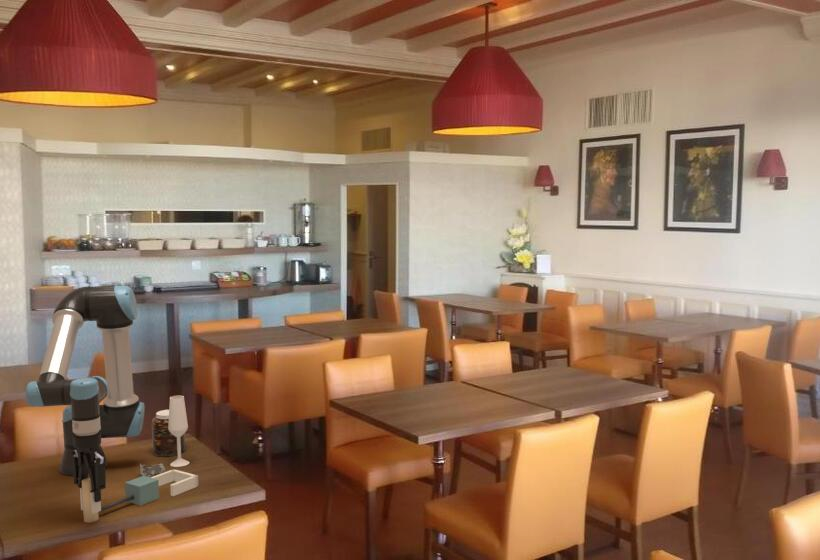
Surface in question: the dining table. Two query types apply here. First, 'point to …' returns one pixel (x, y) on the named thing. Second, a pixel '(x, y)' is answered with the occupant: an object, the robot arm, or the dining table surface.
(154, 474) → the egg carton
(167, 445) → the jar
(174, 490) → the white u-shaped bracket
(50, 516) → the dining table surface
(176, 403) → the champagne flute
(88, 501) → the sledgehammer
